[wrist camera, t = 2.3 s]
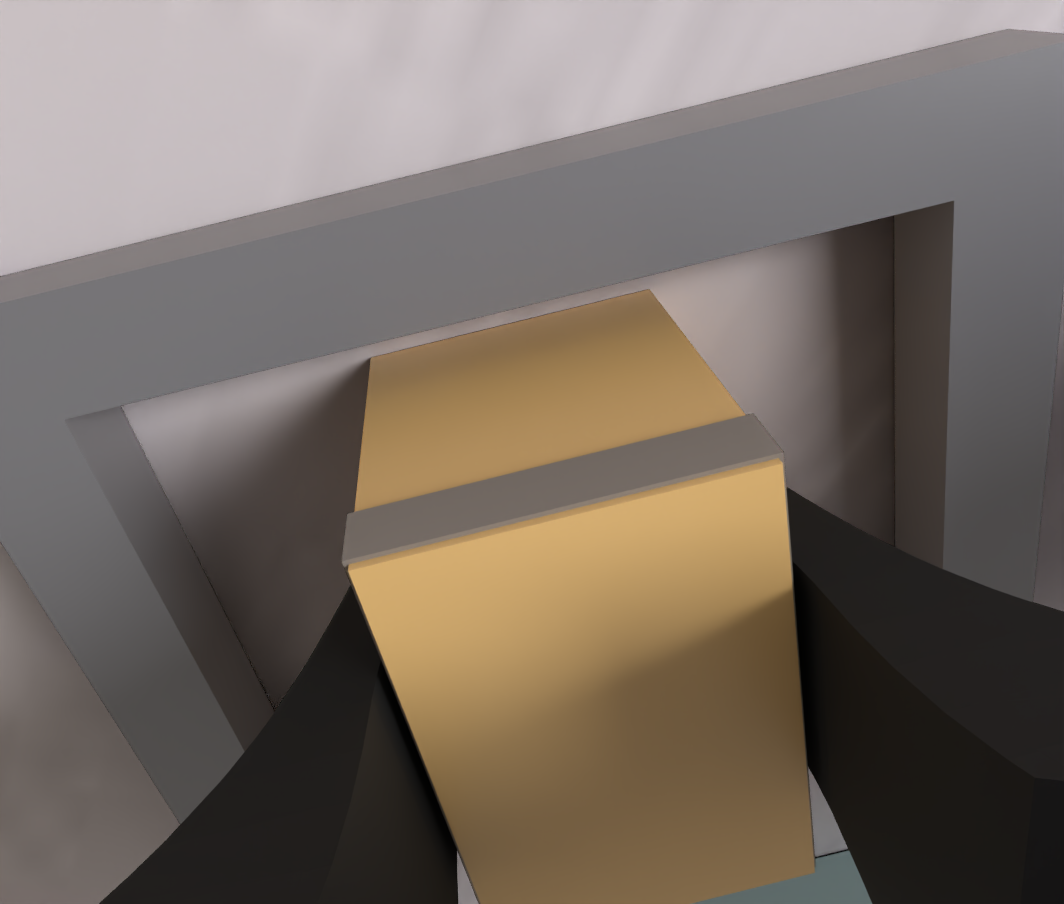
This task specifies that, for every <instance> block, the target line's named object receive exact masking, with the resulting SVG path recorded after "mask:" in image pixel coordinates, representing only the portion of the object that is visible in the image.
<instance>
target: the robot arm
mask: <svg viewBox="0 0 1064 904" xmlns="http://www.w3.org/2000/svg"><path fill="white" fill-rule="evenodd" d="M786 489H787V502H788V515H789V528H790V541H791V554H792V567H793V580H794V593H795V606H796V619H797V632H798V644H799V657H800V670H801V683H802V696H803V709H804V722H805V735H806V748H807V761H808V767H809V769H810V771H811V772H812V774H813V776H814V778H815V779H816V781H817V783H818V785H819V787H820V789H821V791H822V793H823V795H824V797H825V799H826V801H827V803H828V805H829V807H830V809H831V811H832V813H833V815H834V817H835V820H836V822H837V824H838V826H839V829H840V831H841V833H842V836H843V838H844V840H845V842H846V845H847V847H848V849H849V851H850V854H851V856H852V858H853V860H854V863H855V865H856V867H857V869H858V872H859V874H860V876H861V878H862V881H863V883H864V885H865V888H866V890H867V893H868V895H869V897H870V900H871V902H872V904H1064V612H1063V611H1060V610H1056V609H1053V608H1050V607H1047V606H1044V605H1040V604H1037V603H1034V602H1031V601H1027V600H1024V599H1021V598H1018V597H1015V596H1012V595H1009V594H1007V593H1004V592H1001V591H998V590H995V589H992V588H990V587H987V586H984V585H982V584H979V583H977V582H974V581H972V580H969V579H967V578H964V577H962V576H959V575H957V574H954V573H952V572H949V571H946V570H944V569H941V568H939V567H937V566H934V565H932V564H930V563H928V562H925V561H923V560H921V559H919V558H916V557H914V556H912V555H910V554H908V553H906V552H904V551H902V550H900V549H898V548H896V547H894V546H892V545H890V544H887V543H885V542H883V541H881V540H879V539H877V538H875V537H873V536H871V535H869V534H868V533H866V532H864V531H862V530H860V529H858V528H856V527H854V526H852V525H851V524H849V523H847V522H845V521H843V520H842V519H840V518H838V517H836V516H835V515H833V514H831V513H829V512H828V511H826V510H824V509H822V508H821V507H819V506H817V505H816V504H814V503H812V502H810V501H809V500H807V499H805V498H804V497H802V496H801V495H799V494H797V493H796V492H794V491H792V490H791V489H789V488H788V487H786ZM99 904H458V883H457V848H456V846H455V843H454V841H453V838H452V836H451V833H450V831H449V828H448V826H447V823H446V821H445V818H444V816H443V813H442V811H441V808H440V806H439V803H438V801H437V798H436V796H435V793H434V791H433V788H432V786H431V783H430V781H429V778H428V776H427V773H426V771H425V768H424V766H423V763H422V761H421V758H420V756H419V753H418V751H417V748H416V746H415V744H414V741H413V739H412V736H411V734H410V731H409V729H408V726H407V724H406V721H405V719H404V716H403V714H402V711H401V709H400V706H399V704H398V701H397V699H396V696H395V694H394V691H393V689H392V686H391V684H390V681H389V679H388V676H387V674H386V671H385V669H384V666H383V664H382V661H381V659H380V656H379V654H378V651H377V649H376V646H375V644H374V641H373V639H372V636H371V634H370V631H369V629H368V626H367V624H366V621H365V619H364V616H363V614H362V611H361V609H360V606H359V604H358V601H357V599H356V596H355V594H354V591H353V589H352V586H351V585H350V587H349V589H348V591H347V593H346V595H345V596H344V598H343V600H342V602H341V604H340V606H339V608H338V609H337V611H336V613H335V615H334V617H333V619H332V620H331V622H330V624H329V626H328V627H327V629H326V631H325V632H324V634H323V636H322V638H321V639H320V641H319V643H318V645H317V646H316V648H315V650H314V651H313V653H312V655H311V657H310V658H309V660H308V662H307V663H306V665H305V666H304V668H303V670H302V671H301V673H300V674H299V676H298V677H297V679H296V680H295V682H294V683H293V685H292V686H291V688H290V689H289V691H288V692H287V694H286V696H285V697H284V699H283V700H282V702H281V703H280V705H279V706H278V708H277V709H276V711H275V712H274V714H273V715H272V716H271V718H270V719H269V721H268V722H267V723H266V725H265V726H264V728H263V729H262V730H261V732H260V733H259V734H258V736H257V737H256V738H255V740H254V741H253V742H252V743H251V745H250V746H249V747H248V748H247V749H246V751H245V752H244V753H243V754H242V756H241V757H240V758H239V759H238V761H237V762H236V763H235V764H234V766H233V767H232V768H231V769H230V771H229V772H228V773H227V774H226V775H225V776H224V778H223V779H222V780H221V781H220V782H219V783H218V785H217V786H216V787H215V788H214V789H213V790H212V791H211V792H210V793H209V794H208V795H207V796H206V798H205V799H204V800H203V801H202V802H201V803H200V804H199V805H198V806H197V807H196V808H195V809H194V810H193V812H192V813H191V814H190V815H189V816H188V817H187V818H186V819H185V820H184V821H183V822H182V823H181V825H180V826H179V827H178V828H177V829H176V830H175V831H174V832H173V833H172V834H171V835H170V836H169V838H168V839H167V840H166V841H165V842H164V843H163V844H162V845H161V846H160V847H159V848H158V849H157V850H156V851H155V852H154V853H153V854H151V855H150V856H149V857H148V858H147V859H146V860H145V861H144V862H143V863H142V864H141V865H140V866H139V867H138V868H137V869H136V870H135V871H134V872H133V873H132V874H131V875H130V876H129V877H128V878H127V879H125V880H124V881H123V882H122V883H121V884H120V885H119V886H118V887H117V888H116V889H115V890H113V891H112V892H111V893H110V894H109V895H108V896H107V897H106V898H105V899H104V900H103V901H101V902H100V903H99Z"/></svg>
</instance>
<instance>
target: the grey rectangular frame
mask: <svg viewBox="0 0 1064 904" xmlns="http://www.w3.org/2000/svg"><path fill="white" fill-rule="evenodd" d="M893 215H894V332H895V547H896V548H898V549H900V550H902V551H904V552H906V553H908V554H910V555H912V556H914V557H916V558H919V559H921V560H923V561H925V562H928V563H930V564H932V565H934V566H937V567H939V568H941V569H944V570H946V571H949V572H952V573H954V574H957V575H959V576H962V577H964V578H967V579H969V580H972V581H974V582H977V583H979V584H982V585H984V586H987V587H990V588H992V589H995V590H998V591H1001V592H1004V593H1007V594H1009V595H1012V596H1015V597H1018V598H1021V599H1024V600H1027V601H1031V602H1033V595H1034V585H1035V575H1036V565H1037V555H1038V544H1039V534H1040V524H1041V514H1042V504H1043V493H1044V483H1045V473H1046V463H1047V453H1048V442H1049V432H1050V422H1051V412H1052V402H1053V392H1054V381H1055V371H1056V361H1057V351H1058V341H1059V330H1060V320H1061V310H1062V300H1063V290H1064V34H1062V33H1050V32H1038V31H1026V30H1014V29H1006V30H1002V31H998V32H994V33H990V34H986V35H982V36H978V37H973V38H969V39H965V40H961V41H957V42H953V43H949V44H945V45H941V46H937V47H933V48H929V49H925V50H921V51H916V52H912V53H908V54H904V55H900V56H896V57H892V58H888V59H884V60H880V61H876V62H872V63H868V64H864V65H859V66H855V67H851V68H847V69H843V70H839V71H835V72H831V73H827V74H823V75H819V76H815V77H811V78H807V79H802V80H798V81H794V82H790V83H786V84H782V85H778V86H774V87H770V88H766V89H762V90H758V91H754V92H750V93H745V94H741V95H737V96H733V97H729V98H725V99H721V100H717V101H713V102H709V103H705V104H701V105H697V106H693V107H688V108H684V109H680V110H676V111H672V112H668V113H664V114H660V115H656V116H652V117H648V118H644V119H640V120H636V121H631V122H627V123H623V124H619V125H615V126H611V127H607V128H603V129H599V130H595V131H591V132H587V133H583V134H579V135H574V136H570V137H566V138H562V139H558V140H554V141H550V142H546V143H542V144H538V145H534V146H530V147H526V148H522V149H517V150H513V151H509V152H505V153H501V154H497V155H493V156H489V157H485V158H481V159H477V160H473V161H469V162H465V163H460V164H456V165H452V166H448V167H444V168H440V169H436V170H432V171H428V172H424V173H420V174H416V175H412V176H408V177H403V178H399V179H395V180H391V181H387V182H383V183H379V184H375V185H371V186H367V187H363V188H359V189H355V190H351V191H346V192H342V193H338V194H334V195H330V196H326V197H322V198H318V199H314V200H310V201H306V202H302V203H298V204H294V205H289V206H285V207H281V208H277V209H273V210H269V211H265V212H261V213H257V214H253V215H249V216H245V217H241V218H237V219H232V220H228V221H224V222H220V223H216V224H212V225H208V226H204V227H200V228H196V229H192V230H188V231H184V232H180V233H175V234H171V235H167V236H163V237H159V238H155V239H151V240H147V241H143V242H139V243H135V244H131V245H127V246H123V247H118V248H114V249H110V250H106V251H102V252H98V253H94V254H90V255H86V256H82V257H78V258H74V259H70V260H66V261H61V262H57V263H53V264H49V265H45V266H41V267H37V268H33V269H29V270H25V271H21V272H17V273H13V274H9V275H4V276H0V542H1V543H2V545H3V546H4V548H5V550H6V551H7V553H8V554H9V556H10V557H11V559H12V561H13V562H14V564H15V565H16V567H17V568H18V570H19V572H20V573H21V575H22V576H23V578H24V579H25V581H26V583H27V584H28V586H29V587H30V589H31V590H32V592H33V594H34V595H35V597H36V598H37V600H38V601H39V603H40V605H41V606H42V608H43V609H44V611H45V612H46V614H47V616H48V617H49V619H50V620H51V622H52V623H53V625H54V627H55V628H56V630H57V631H58V633H59V634H60V636H61V638H62V639H63V641H64V642H65V644H66V645H67V647H68V649H69V650H70V652H71V653H72V655H73V656H74V658H75V660H76V661H77V663H78V664H79V666H80V667H81V669H82V671H83V672H84V674H85V675H86V677H87V678H88V680H89V682H90V683H91V685H92V686H93V688H94V690H95V691H96V693H97V694H98V696H99V697H100V699H101V701H102V702H103V704H104V705H105V707H106V708H107V710H108V712H109V713H110V715H111V716H112V718H113V719H114V721H115V723H116V724H117V726H118V727H119V729H120V730H121V732H122V734H123V735H124V737H125V738H126V740H127V741H128V743H129V745H130V746H131V748H132V749H133V751H134V752H135V754H136V756H137V757H138V759H139V760H140V762H141V763H142V765H143V767H144V768H145V770H146V771H147V773H148V774H149V776H150V778H151V779H152V781H153V782H154V784H155V785H156V787H157V789H158V790H159V792H160V793H161V795H162V796H163V798H164V800H165V801H166V803H167V804H168V806H169V807H170V809H171V811H172V812H173V814H174V815H175V817H176V818H177V820H178V822H179V823H180V825H181V823H182V822H183V821H184V820H185V819H186V818H187V817H188V816H189V815H190V814H191V813H192V812H193V810H194V809H195V808H196V807H197V806H198V805H199V804H200V803H201V802H202V801H203V800H204V799H205V798H206V796H207V795H208V794H209V793H210V792H211V791H212V790H213V789H214V788H215V787H216V786H217V785H218V783H219V782H220V781H221V780H222V779H223V778H224V776H225V775H226V774H227V773H228V772H229V771H230V769H231V768H232V767H233V766H234V764H235V763H236V762H237V761H238V759H239V758H240V757H241V756H242V754H243V753H244V752H245V751H246V749H247V748H248V747H249V746H250V745H251V743H252V742H253V741H254V740H255V738H256V737H257V736H258V734H259V733H260V732H261V730H262V729H263V728H264V726H265V725H266V723H267V722H268V721H269V719H270V718H271V716H272V715H273V714H274V710H273V708H272V706H271V704H270V702H269V700H268V698H267V696H266V694H265V692H264V690H263V688H262V686H261V684H260V682H259V680H258V678H257V676H256V674H255V672H254V670H253V668H252V666H251V664H250V662H249V660H248V658H247V656H246V654H245V652H244V650H243V648H242V646H241V644H240V642H239V640H238V638H237V636H236V634H235V632H234V630H233V628H232V626H231V624H230V622H229V621H228V619H227V617H226V615H225V613H224V611H223V609H222V607H221V605H220V603H219V601H218V599H217V597H216V595H215V593H214V591H213V589H212V587H211V585H210V583H209V581H208V579H207V577H206V575H205V573H204V571H203V569H202V567H201V565H200V563H199V561H198V559H197V557H196V555H195V553H194V551H193V549H192V547H191V545H190V543H189V541H188V539H187V537H186V535H185V533H184V531H183V529H182V527H181V525H180V523H179V521H178V519H177V517H176V515H175V513H174V511H173V509H172V507H171V505H170V503H169V501H168V499H167V497H166V495H165V493H164V491H163V489H162V487H161V485H160V483H159V481H158V479H157V477H156V475H155V473H154V471H153V469H152V467H151V465H150V463H149V461H148V459H147V457H146V455H145V453H144V451H143V450H142V448H141V446H140V444H139V442H138V440H137V438H136V436H135V434H134V432H133V430H132V428H131V426H130V424H129V422H128V420H127V418H126V416H125V414H124V412H123V410H122V408H121V406H122V405H126V404H130V403H134V402H138V401H142V400H146V399H150V398H154V397H158V396H162V395H166V394H170V393H174V392H179V391H183V390H187V389H191V388H195V387H199V386H203V385H207V384H211V383H215V382H219V381H223V380H227V379H231V378H235V377H239V376H243V375H248V374H252V373H256V372H260V371H264V370H268V369H272V368H276V367H280V366H284V365H288V364H292V363H296V362H300V361H304V360H308V359H312V358H317V357H321V356H325V355H329V354H333V353H337V352H341V351H345V350H349V349H353V348H357V347H361V346H365V345H369V344H373V343H377V342H382V341H386V340H390V339H394V338H398V337H402V336H406V335H410V334H414V333H418V332H422V331H426V330H430V329H434V328H438V327H442V326H446V325H451V324H455V323H459V322H463V321H467V320H471V319H475V318H479V317H483V316H487V315H491V314H495V313H499V312H503V311H507V310H511V309H515V308H520V307H524V306H528V305H532V304H536V303H540V302H544V301H548V300H552V299H556V298H560V297H564V296H568V295H572V294H576V293H580V292H584V291H589V290H593V289H597V288H601V287H605V286H609V285H613V284H617V283H621V282H625V281H629V280H633V279H637V278H641V277H645V276H649V275H654V274H658V273H662V272H666V271H670V270H674V269H678V268H682V267H686V266H690V265H694V264H698V263H702V262H706V261H710V260H714V259H718V258H723V257H727V256H731V255H735V254H739V253H743V252H747V251H751V250H755V249H759V248H763V247H767V246H771V245H775V244H779V243H783V242H787V241H792V240H796V239H800V238H804V237H808V236H812V235H816V234H820V233H824V232H828V231H832V230H836V229H840V228H844V227H848V226H852V225H856V224H861V223H865V222H869V221H873V220H877V219H881V218H885V217H889V216H893Z"/></svg>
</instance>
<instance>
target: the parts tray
mask: <svg viewBox="0 0 1064 904" xmlns="http://www.w3.org/2000/svg"><path fill="white" fill-rule="evenodd" d="M815 864H816V867H814V868H815V873H812V874H808V875H804V876H800V877H796V878H792V879H788V880H784V881H780V882H776V883H772V884H768V885H764V886H760V887H756V888H752V889H748V890H744V891H740V892H736V893H732V894H728V895H724V896H720V897H716V898H712V899H708V900H704V901H700V902H696V903H692V904H872V902H871V900H870V897H869V895H868V893H867V890H866V888H865V885H864V883H863V881H862V878H861V876H860V874H859V872H858V869H857V867H856V865H855V863H854V860H853V858H852V856H851V854H850V851H845V852H841V853H837V854H833V855H829V856H825V857H820V858H816V859H815Z"/></svg>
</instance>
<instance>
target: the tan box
mask: <svg viewBox="0 0 1064 904" xmlns="http://www.w3.org/2000/svg"><path fill="white" fill-rule="evenodd" d="M342 564H343V566H344V569H345V571H346V574H347V576H348V579H349V581H350V584H351V586H352V589H353V591H354V594H355V596H356V599H357V601H358V604H359V606H360V609H361V611H362V614H363V616H364V619H365V621H366V624H367V626H368V629H369V631H370V634H371V636H372V639H373V641H374V644H375V646H376V649H377V651H378V654H379V656H380V659H381V661H382V664H383V666H384V669H385V671H386V674H387V676H388V679H389V681H390V684H391V686H392V689H393V691H394V694H395V696H396V699H397V701H398V704H399V706H400V709H401V711H402V714H403V716H404V719H405V721H406V724H407V726H408V729H409V731H410V734H411V736H412V739H413V741H414V744H415V746H416V748H417V751H418V753H419V756H420V758H421V761H422V763H423V766H424V768H425V771H426V773H427V776H428V778H429V781H430V783H431V786H432V788H433V791H434V793H435V796H436V798H437V801H438V803H439V806H440V808H441V811H442V813H443V816H444V818H445V821H446V823H447V826H448V828H449V831H450V833H451V836H452V838H453V841H454V843H455V846H456V848H457V851H458V853H459V856H460V858H461V861H462V863H463V866H464V868H465V871H466V873H467V876H468V878H469V881H470V883H471V886H472V888H473V891H474V893H475V896H476V898H477V901H478V903H479V904H692V903H696V902H700V901H704V900H708V899H712V898H716V897H720V896H724V895H728V894H732V893H736V892H740V891H744V890H748V889H752V888H756V887H760V886H764V885H768V884H772V883H776V882H780V881H784V880H788V879H792V878H796V877H800V876H804V875H808V874H812V873H815V868H814V867H816V864H815V851H814V838H813V825H812V812H811V800H810V787H809V774H808V761H807V748H806V735H805V722H804V709H803V696H802V683H801V670H800V657H799V644H798V632H797V619H796V606H795V593H794V580H793V567H792V554H791V541H790V528H789V515H788V502H787V489H786V476H785V463H784V452H783V451H782V449H781V448H780V447H779V446H778V444H777V443H776V442H775V440H774V439H773V438H772V437H771V435H770V434H769V433H768V432H767V430H766V429H765V428H764V426H763V425H762V424H761V423H760V421H759V420H758V419H757V418H756V416H755V415H754V414H749V415H745V414H744V412H743V411H742V410H741V408H740V407H739V406H738V404H737V403H736V402H735V400H734V399H733V398H732V397H731V395H730V394H729V393H728V391H727V390H726V389H725V387H724V386H723V385H722V383H721V382H720V381H719V380H718V378H717V377H716V376H715V374H714V373H713V372H712V370H711V369H710V368H709V366H708V365H707V364H706V363H705V361H704V360H703V359H702V357H701V356H700V355H699V353H698V352H697V351H696V349H695V348H694V347H693V346H692V344H691V343H690V342H689V340H688V339H687V338H686V336H685V335H684V334H683V332H682V331H681V330H680V329H679V327H678V326H677V325H676V323H675V322H674V321H673V319H672V318H671V317H670V315H669V314H668V313H667V312H666V310H665V309H664V308H663V306H662V305H661V304H660V302H659V301H658V300H657V299H656V297H655V296H654V295H653V293H652V292H651V291H650V289H648V290H644V291H640V292H636V293H632V294H628V295H624V296H620V297H616V298H612V299H608V300H604V301H600V302H596V303H591V304H587V305H583V306H579V307H575V308H571V309H567V310H563V311H559V312H555V313H551V314H547V315H543V316H539V317H535V318H531V319H527V320H522V321H518V322H514V323H510V324H506V325H502V326H498V327H494V328H490V329H486V330H482V331H478V332H474V333H470V334H466V335H462V336H458V337H453V338H449V339H445V340H441V341H437V342H433V343H429V344H425V345H421V346H417V347H413V348H409V349H405V350H401V351H397V352H393V353H389V354H384V355H380V356H376V357H372V358H371V361H370V371H369V380H368V389H367V398H366V408H365V417H364V426H363V436H362V445H361V454H360V464H359V473H358V482H357V492H356V501H355V510H354V512H352V513H348V514H347V520H346V529H345V537H344V545H343V554H342Z"/></svg>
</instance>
